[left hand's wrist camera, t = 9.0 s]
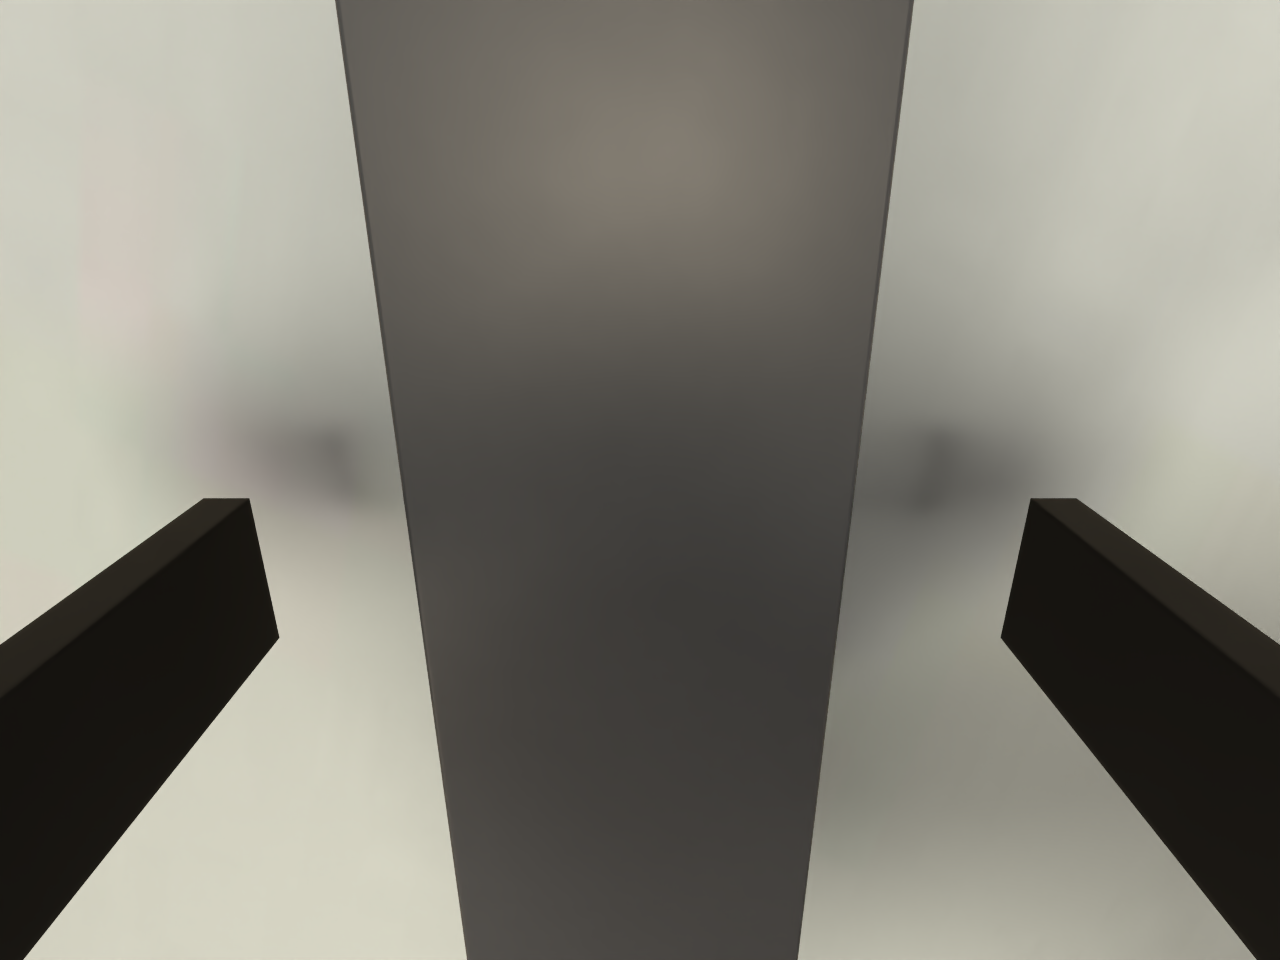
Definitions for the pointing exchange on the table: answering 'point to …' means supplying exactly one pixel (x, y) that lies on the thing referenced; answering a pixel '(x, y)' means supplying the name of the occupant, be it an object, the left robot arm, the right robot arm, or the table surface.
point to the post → (628, 436)
